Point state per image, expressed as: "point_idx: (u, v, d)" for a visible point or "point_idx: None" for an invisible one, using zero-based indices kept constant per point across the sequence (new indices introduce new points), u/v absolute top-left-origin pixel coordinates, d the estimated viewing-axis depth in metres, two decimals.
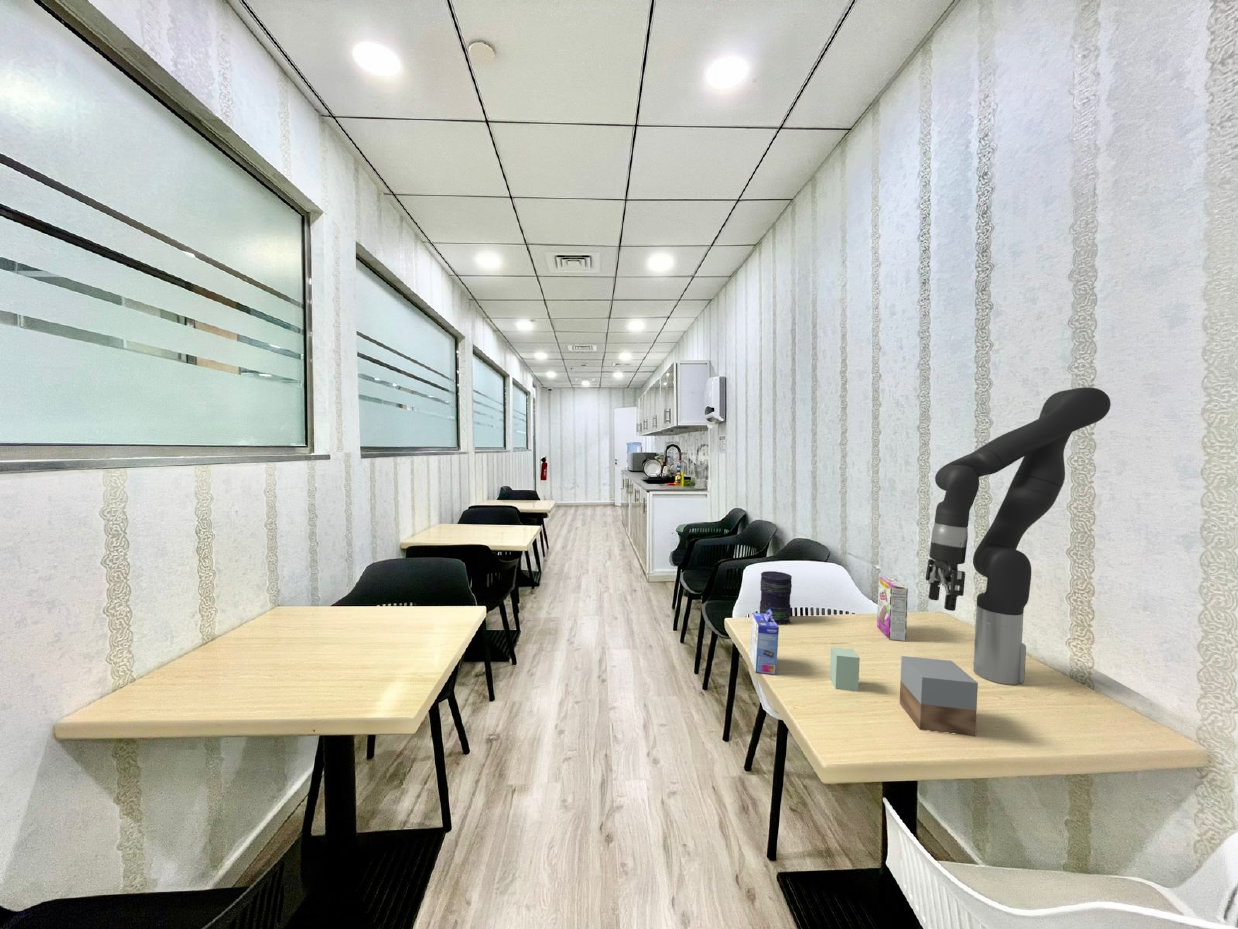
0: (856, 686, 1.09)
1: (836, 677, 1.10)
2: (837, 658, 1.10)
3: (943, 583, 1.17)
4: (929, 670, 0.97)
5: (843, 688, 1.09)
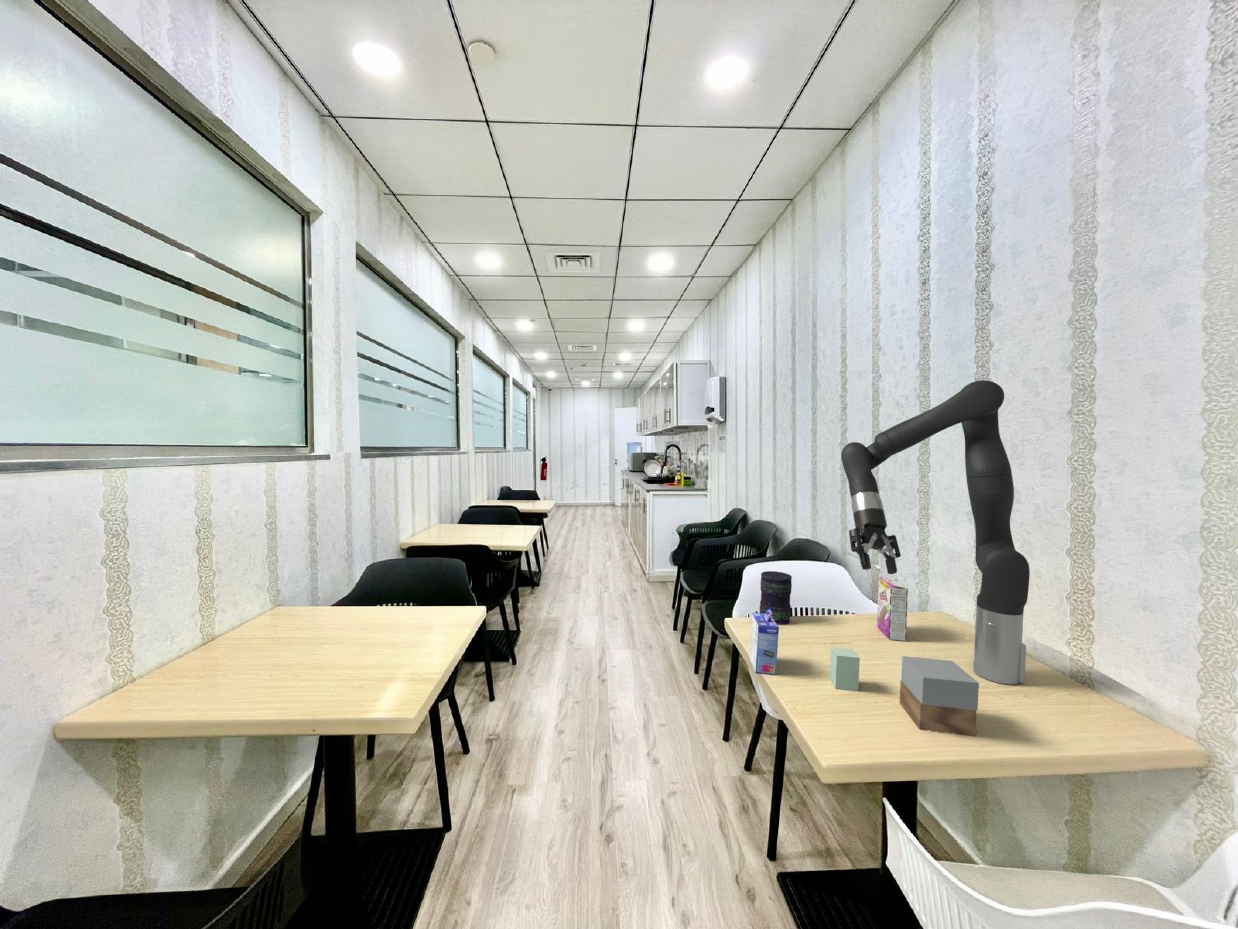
0: (856, 686, 1.09)
1: (836, 677, 1.10)
2: (837, 658, 1.10)
3: None
4: (930, 670, 0.97)
5: (843, 688, 1.09)
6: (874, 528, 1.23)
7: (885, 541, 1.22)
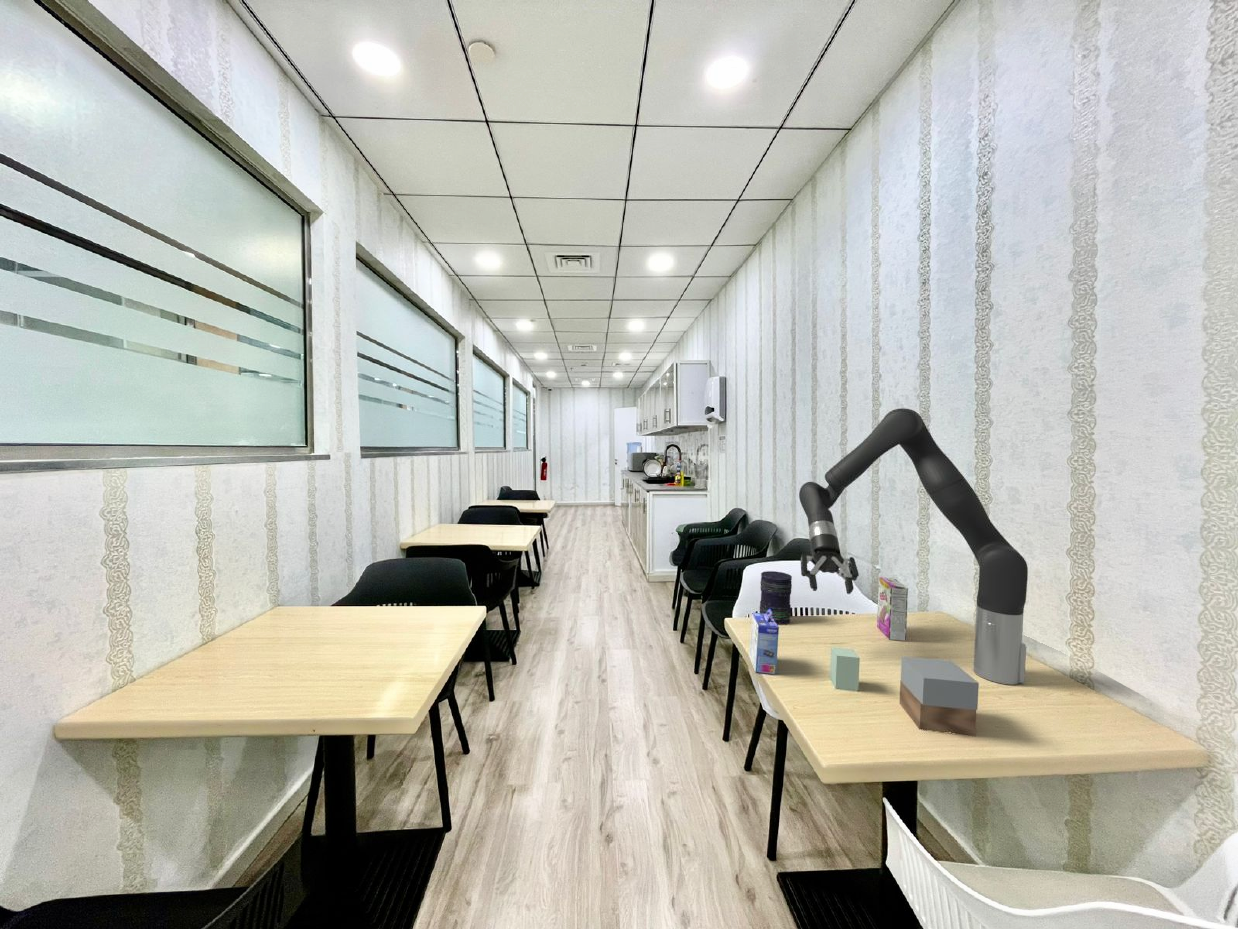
0: (856, 686, 1.09)
1: (836, 677, 1.10)
2: (837, 658, 1.10)
3: None
4: (929, 670, 0.97)
5: (843, 688, 1.09)
6: (825, 553, 1.30)
7: (838, 562, 1.27)
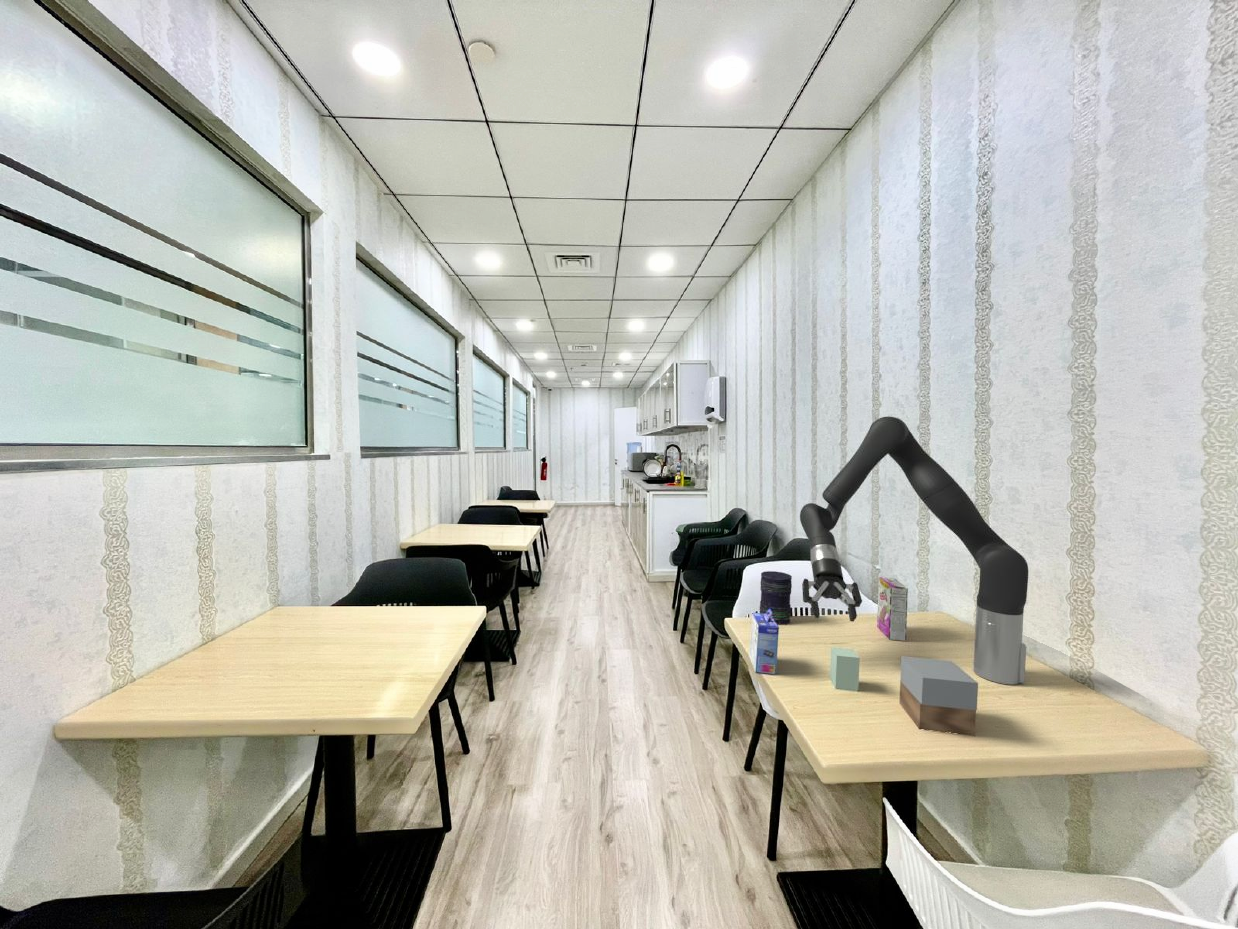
0: (856, 686, 1.09)
1: (836, 677, 1.10)
2: (837, 658, 1.10)
3: None
4: (929, 670, 0.97)
5: (843, 688, 1.09)
6: (828, 578, 1.27)
7: (840, 588, 1.24)
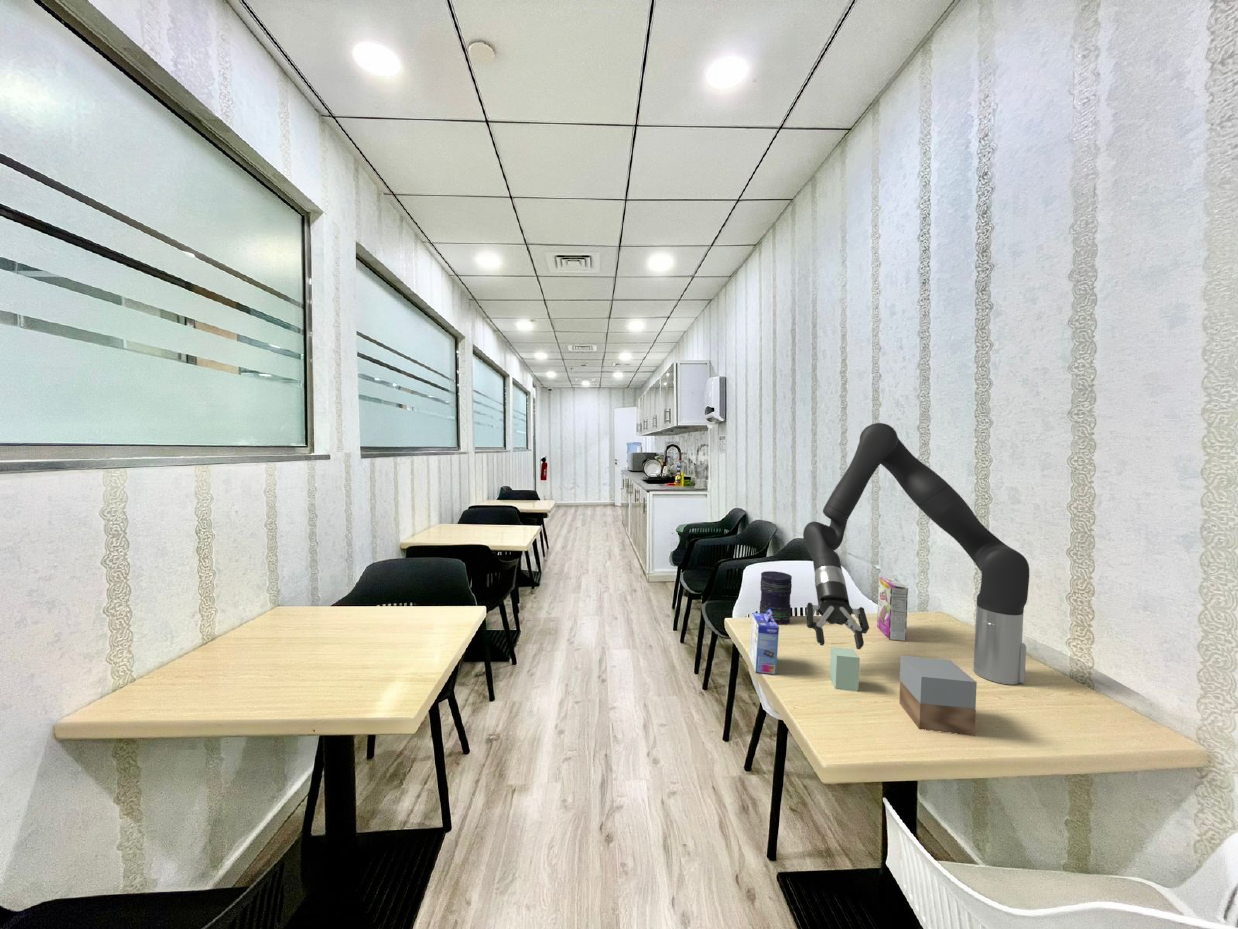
0: (856, 686, 1.09)
1: (836, 677, 1.10)
2: (837, 658, 1.10)
3: None
4: (928, 669, 0.97)
5: (843, 688, 1.09)
6: (833, 602, 1.21)
7: (846, 613, 1.18)
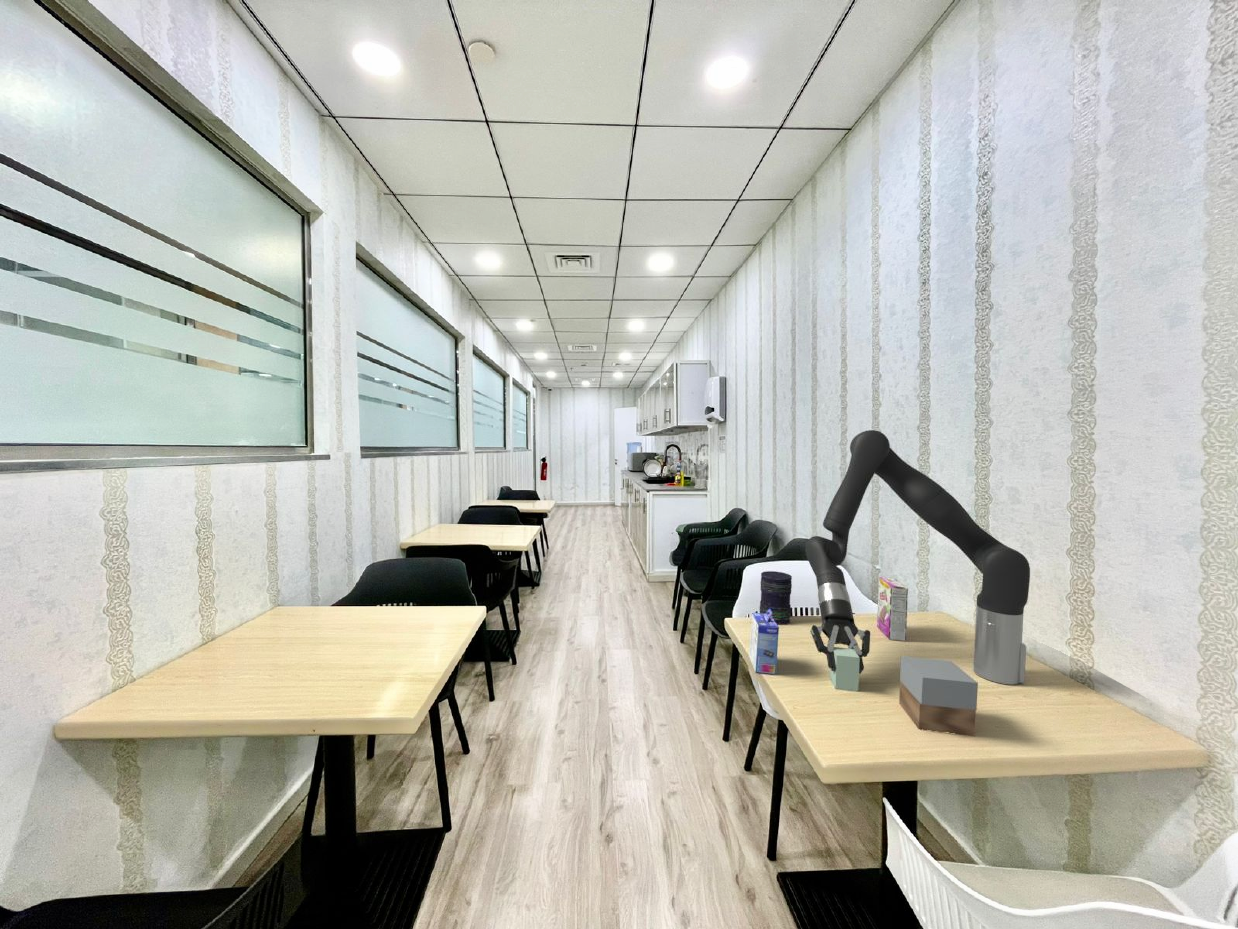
0: (856, 686, 1.09)
1: (836, 677, 1.10)
2: (837, 658, 1.10)
3: None
4: (929, 670, 0.97)
5: (843, 688, 1.09)
6: (837, 621, 1.17)
7: (850, 634, 1.14)
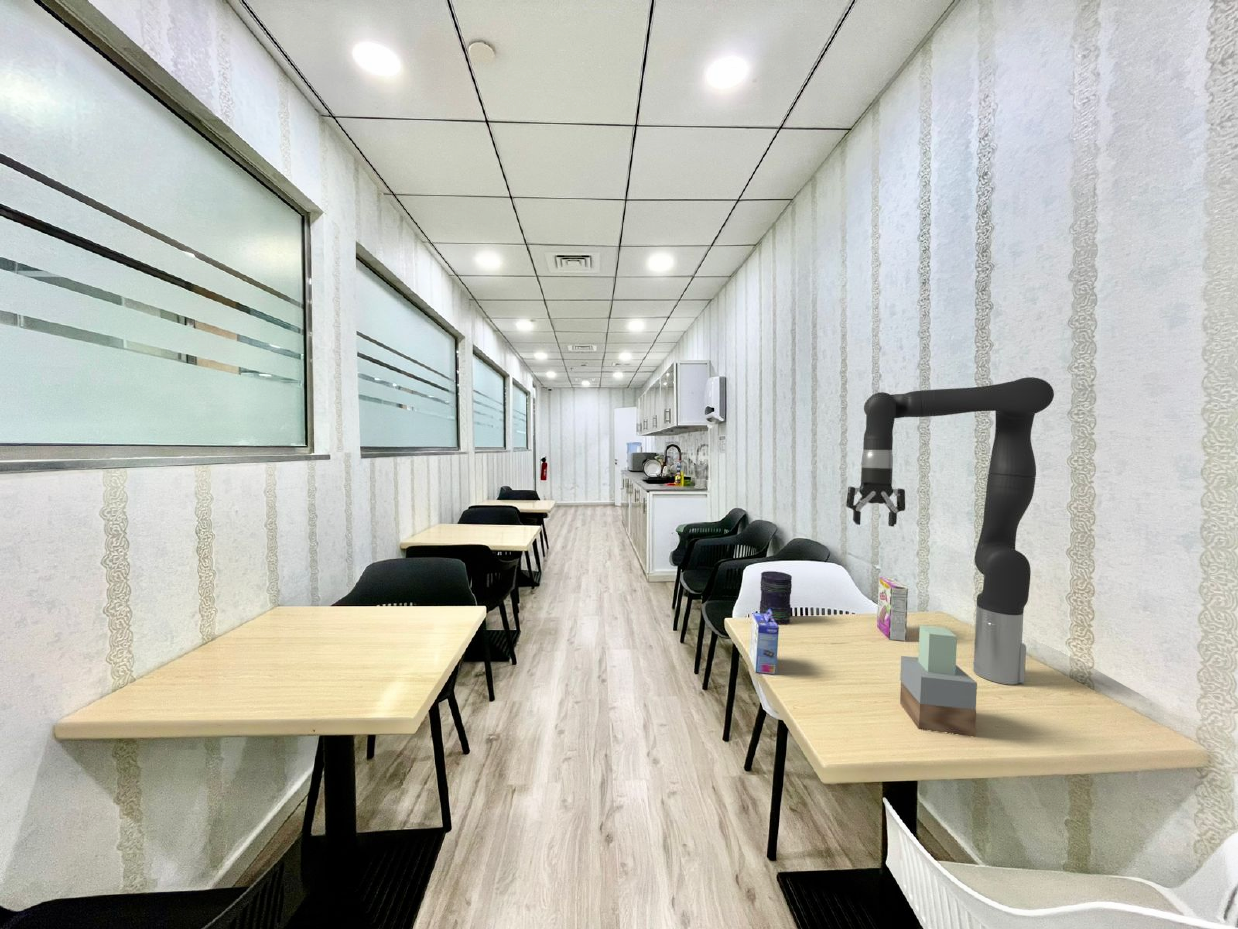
0: (953, 669, 0.95)
1: (929, 658, 0.96)
2: (930, 637, 0.96)
3: None
4: None
5: (937, 671, 0.96)
6: (876, 485, 1.27)
7: (886, 497, 1.26)
